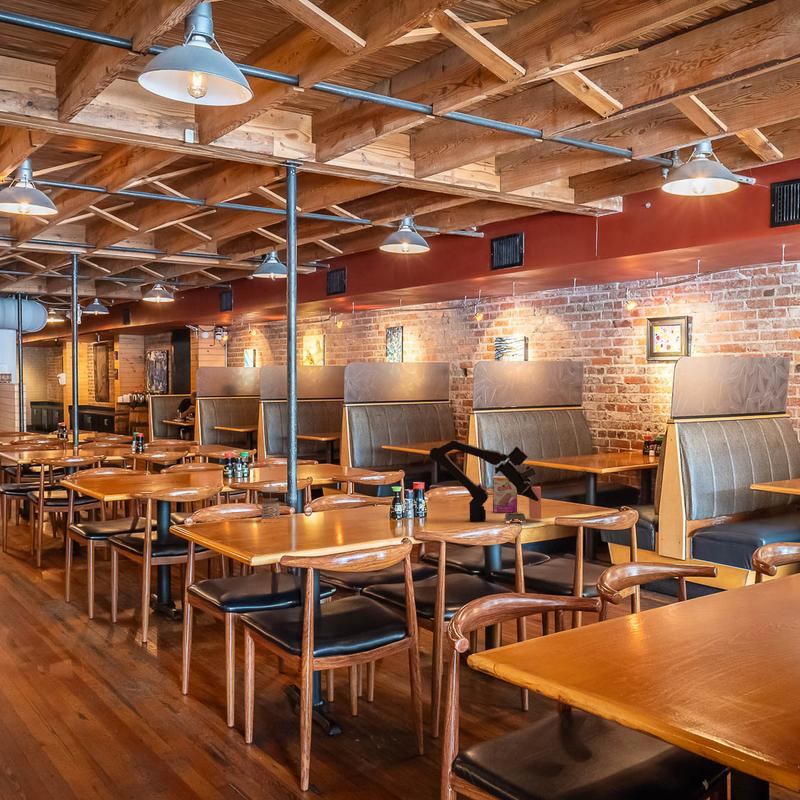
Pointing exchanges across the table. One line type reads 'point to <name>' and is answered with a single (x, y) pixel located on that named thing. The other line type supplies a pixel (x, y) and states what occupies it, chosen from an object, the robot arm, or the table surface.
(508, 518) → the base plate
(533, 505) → the column
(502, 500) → the candy bar box
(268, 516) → the french press
